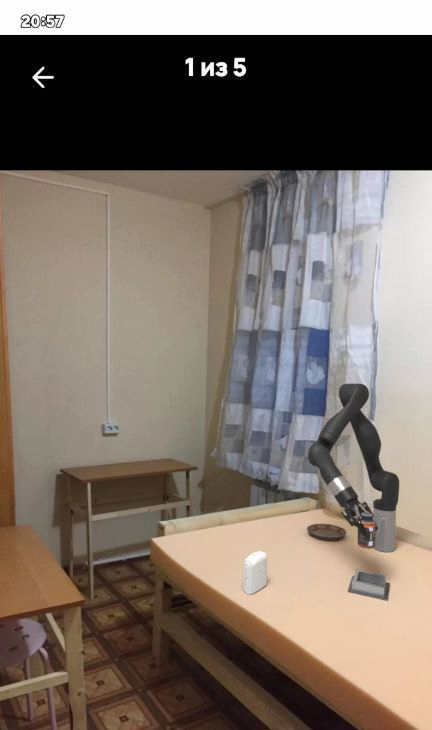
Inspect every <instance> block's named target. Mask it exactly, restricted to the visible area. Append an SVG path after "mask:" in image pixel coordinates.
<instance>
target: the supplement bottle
mask: <svg viewBox="0 0 432 730" xmlns="http://www.w3.org/2000/svg"><path fill="white" fill-rule="evenodd" d="M360 520H361V524H363V525H364V527H365V528H366V530H367V531H368V534H367V535H365V536H363V535H362V534H361V532H360V531H359V529H358V528H357V545H358V546H359V547H360V548H364V549H367V550H368V549H369V550H370V549H374V547H375V527H376V526H375V525H376V523H375V521H374V520H373V515H372V514H371V513H369V512H368V513H364V512H363V513H361V518H360Z"/></svg>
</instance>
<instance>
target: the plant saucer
mask: <svg viewBox="0 0 432 730" xmlns="http://www.w3.org/2000/svg"><path fill="white" fill-rule="evenodd" d="M306 530H307V532H308V534H309V535H310V536H311V537H312V538H314V539H315V540H319V541H322V542H323V541H324V542H339V541H341V540H343V539H344V537H346V535H347V530H346V529H344V528H343V527H341V526H338V525H335V524H330V523H329V524H328V523H314V524H310V525H308V526H307V527H306Z"/></svg>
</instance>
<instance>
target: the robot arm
mask: <svg viewBox="0 0 432 730" xmlns="http://www.w3.org/2000/svg"><path fill="white" fill-rule="evenodd" d="M369 398H370V391H369V389H368V386H367V385H365V384H363V383H343V384H341V385H340V386H339V389H338V399H339V401H340V403H341V405H342V407H343V408H342V409H340V410H339V411H338V412H337V413H336V414H334V415H333V416H332V417H330V418H329V420H328V421H327V422H326V423H325V425H324V426H323V428H322V429H321V431H320V433H319V435H318V438H317V440H316V442H315V443H313V444H311V445H310V446H309V449H308V452H307V453H308V454H307V461H308V462H309V464H310V465H312V466H313V467H317V469H318V470H319V472H320V477H321V478H322V480H323V482H324V484H326V486H327V487H328V490H329V491H330V493H331V494H332V496H333V497H334V499H335V500H336V502H337V503H338V505H339V506H340V507H341V508H344V509H343V510H342V511H341V512H340V514H341V515H342V516H343V518H344V519H345V520H346V522H347V523H348V524H349V526H351V527H354V526H355V528H357V530H358V529H359V531H360V532H361V534H362V535H363V536H365V535H367V534H368V531H367V530H366V528H365V527H364V525H363V524H361V520H360V519H361V513H371V514H372V515H373V520H374V521H375V523H376V525H375V526H376V527H375V547H374V548H373V549H375V550H377V551H379V552H384V553H391V552H394V551H395V550H396V529H397V528H396V527H397V526H396V525H397V524H396V523H397V521H396V520H397V505H398V503H399V495H400V494H399V493H400V479H399V476H398V475H397V474H396V473H394V472H390V471H388V470H384V468H383V466H382V464H381V460H380V454H381V453H380V452H381V449H382V441H381V438H380V435H379V433H378V429H377V428H376V426H375V425H374V424H373V423H372V421H371V420H369V419H368V417H367V416H366V415H365V414H364V412H363V411H362V410H361V409H362V408H363V407H364V406H365V405H366V404H367V402H368V400H369ZM349 424H350V425H351V428H352V430H353V432H354V436H355V439H356V441H357V444H358V447H359V450H360V453H361V455H362V458H363V461H364V464H365V467H366V472H367V475H368V479H369V484H370V485H371V487H372V489H374V490H375V491H378V492H380V493H381V495H380V498H377V499H374V500H373V508H372V509H373V511H372V510H371V508H370V506H369V505H368V503H367V501H363V502H362V503H361V502H360V501H359V500H358V499H359V494H358V493H357V492H356V491H355V489H354V488H353V487H352V485H351V483H350V482H349V481H348V480H347V478H346V477H345V476H344V475H343V474H342V472H341V470H340V469H339V468H338V466H337V465H336V463H335V461H334V459H333V457H332V456H331V451H332V449H333V447H334V446H335V444H336V442H337V441H338V440H339V438H340V436H341V435H342V433H343V432H344V430H345V429H346V427H347V426H348V425H349Z"/></svg>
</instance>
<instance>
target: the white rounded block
mask: <svg viewBox="0 0 432 730" xmlns="http://www.w3.org/2000/svg"><path fill="white" fill-rule="evenodd" d="M242 577H243V578H242V579H243V580H242V581H243V582H242V584H243V585H242V590H243V592H244V593H245V594H246V595H254V594H255V593H257V592H259V591H260V590H261V589H263V588H265V586H267V583H268V580H267V579H268V556H267V553H266V552H264V551H255V552H252V553H251V554H249V556H247V557H246V558H245V560H243V576H242Z"/></svg>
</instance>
